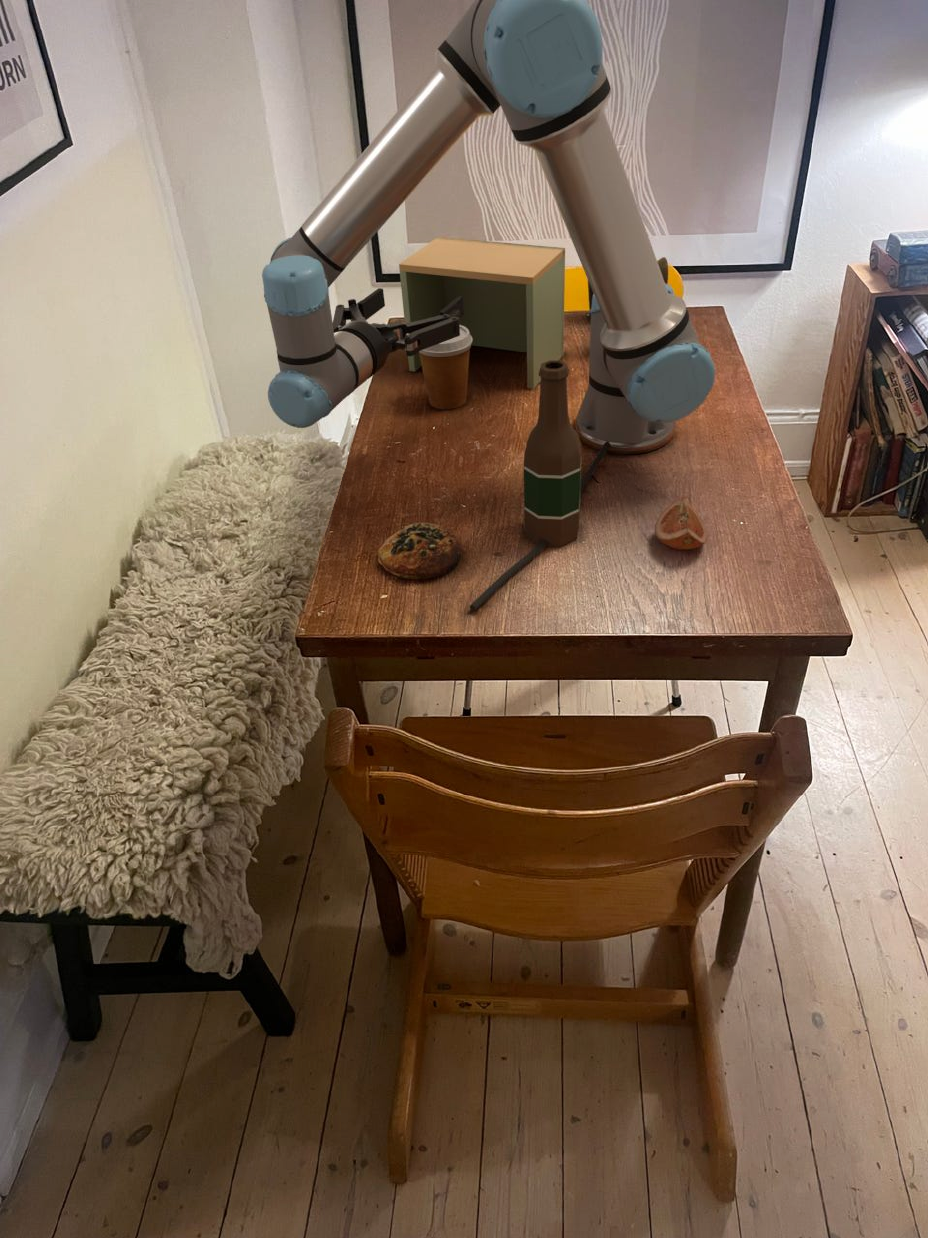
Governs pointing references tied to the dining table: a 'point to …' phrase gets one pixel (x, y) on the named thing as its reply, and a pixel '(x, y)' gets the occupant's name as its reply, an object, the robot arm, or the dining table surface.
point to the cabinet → (492, 295)
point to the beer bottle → (552, 464)
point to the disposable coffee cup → (447, 370)
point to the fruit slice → (680, 526)
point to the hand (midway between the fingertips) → (421, 300)
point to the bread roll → (420, 551)
